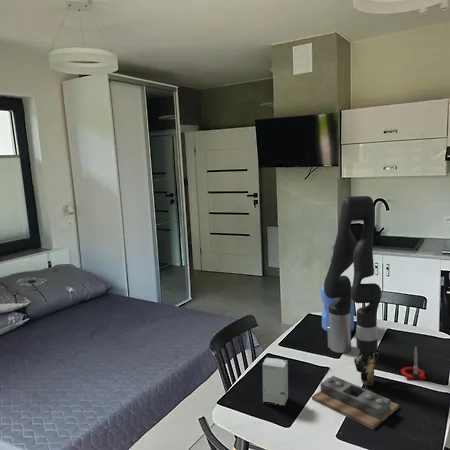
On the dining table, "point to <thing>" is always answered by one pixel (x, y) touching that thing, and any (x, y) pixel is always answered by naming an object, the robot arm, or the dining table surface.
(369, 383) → the pin
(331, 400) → the board
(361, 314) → the robot arm
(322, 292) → the water jug
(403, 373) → the tow hook
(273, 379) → the skincare box
